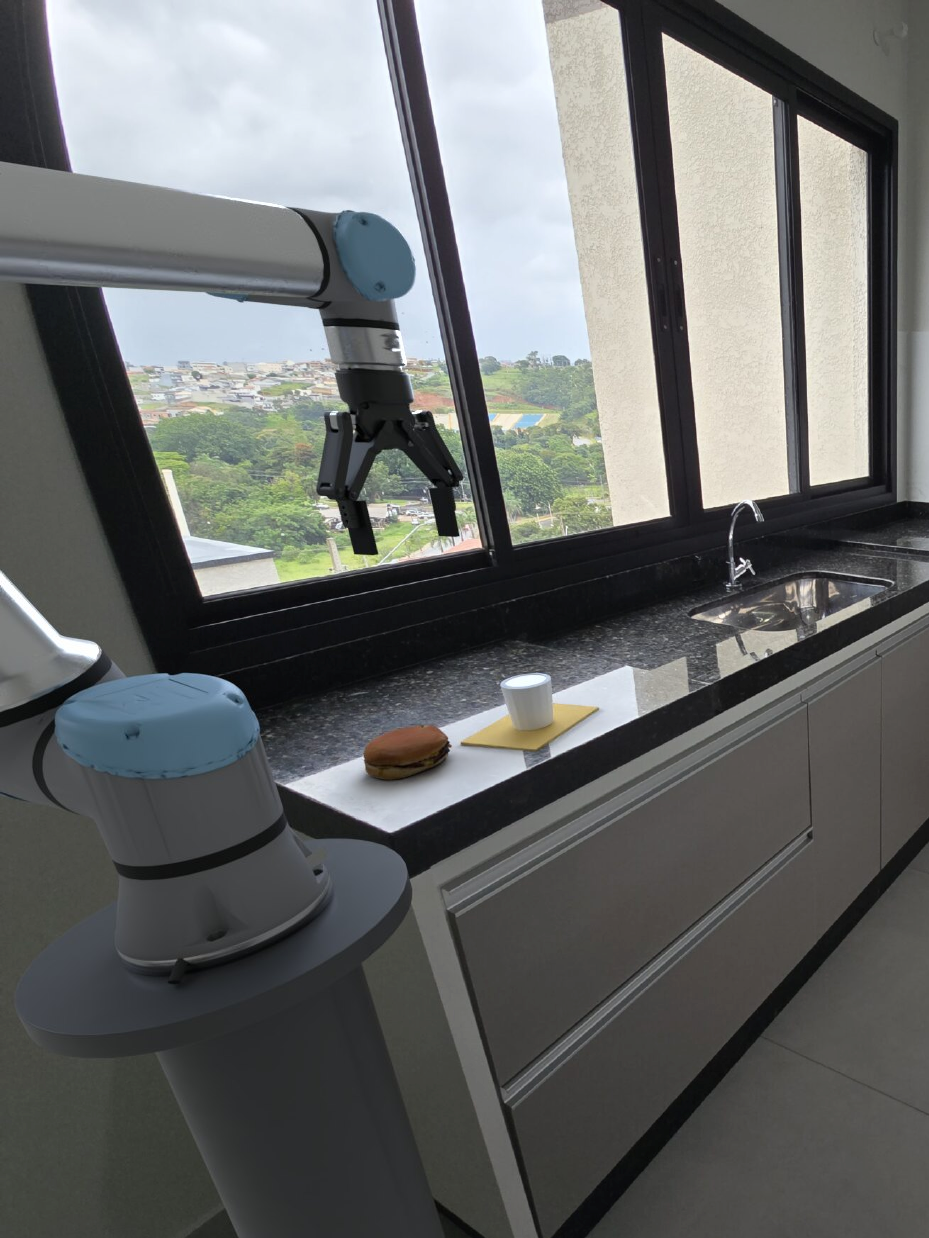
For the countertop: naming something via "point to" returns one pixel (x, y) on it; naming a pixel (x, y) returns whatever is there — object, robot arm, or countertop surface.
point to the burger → (405, 752)
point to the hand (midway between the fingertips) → (410, 545)
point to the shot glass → (529, 700)
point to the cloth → (532, 740)
